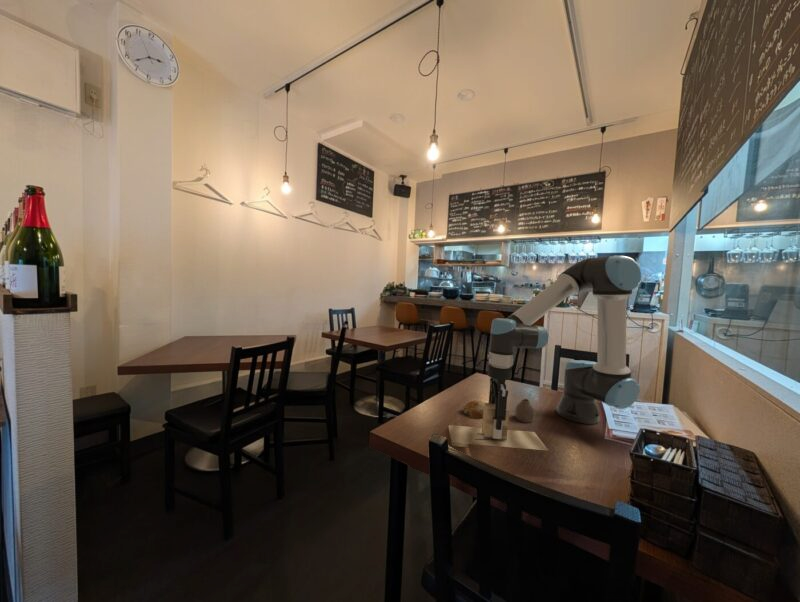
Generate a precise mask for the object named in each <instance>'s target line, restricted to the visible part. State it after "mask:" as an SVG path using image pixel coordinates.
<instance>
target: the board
mask: <svg viewBox="0 0 800 602" xmlns="http://www.w3.org/2000/svg"><path fill="white" fill-rule="evenodd" d="M448 432H449V438H450V441H451V442H450V443H451V446H452V447H461V448H470V446H469V445H475V446H476V445H477V446H479V445H480V446H491V447H500V448H501V447H503V448H510V449H511V448H513V449H527V450H538V451H549V449H548V448H547V447H546V445H545V444H544V442H543V441H542V440H541V439H540V438H539V436H538V434H537V433H536V432H535V431H529V430H527V431H526V430H525V431H524V430H515V429H514V430H512V429H508V430H507V440H498V439H487V438H485V437H484V435H483V433H482V427H476V426H464V425H463V426H462V425H453V424H452V425H450V424H449V425H448Z"/></svg>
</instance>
